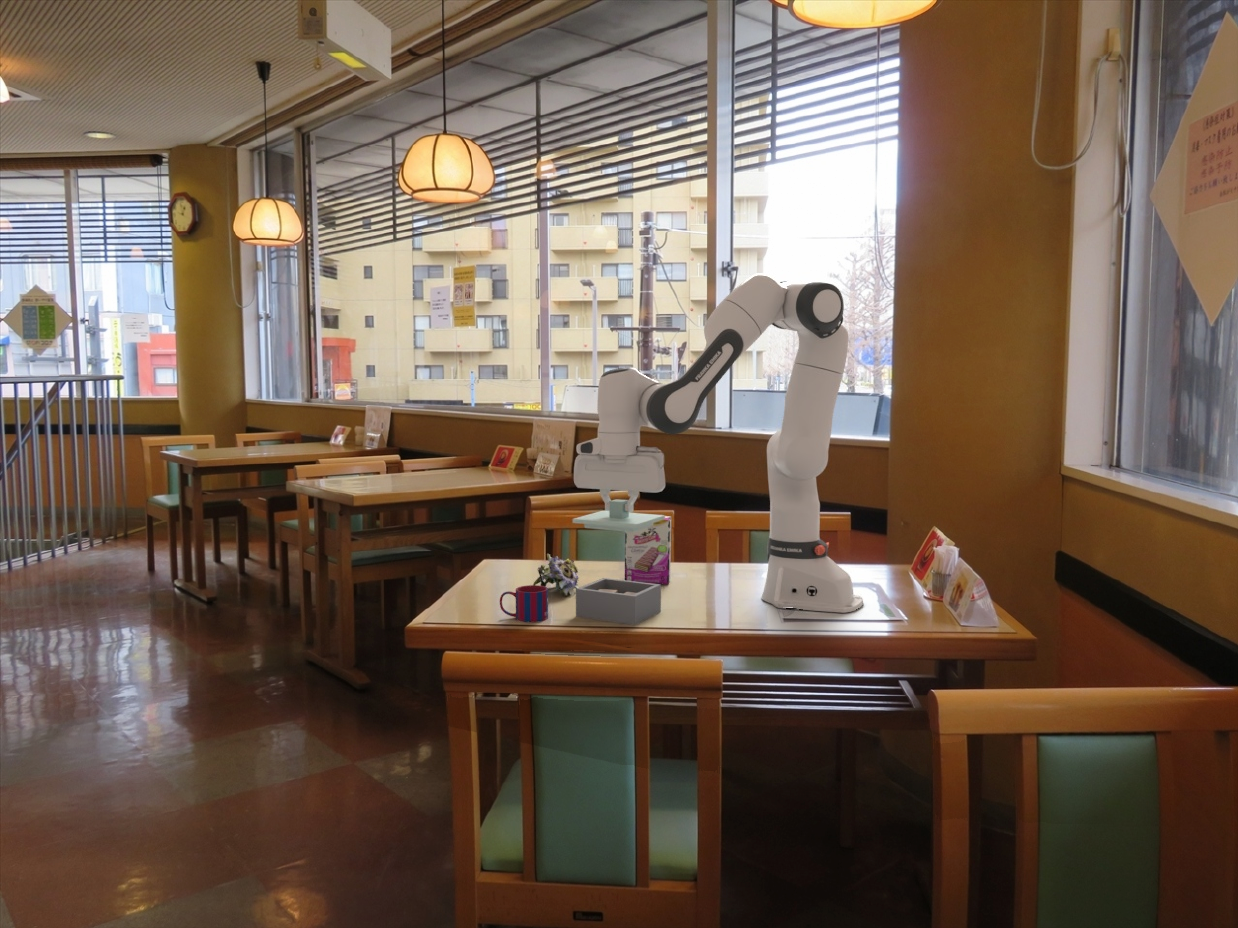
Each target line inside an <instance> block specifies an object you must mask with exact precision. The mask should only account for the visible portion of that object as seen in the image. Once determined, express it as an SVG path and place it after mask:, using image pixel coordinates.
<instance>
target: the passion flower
mask: <svg viewBox="0 0 1238 928" xmlns="http://www.w3.org/2000/svg"><path fill="white" fill-rule="evenodd" d="M546 557H547V561H548V564H547V565H548V567H546V565H544V564H541V565H540V567H539V566H538V568H537V573H538V574H539V577H537V579H535V580H534V581H533V584H532V585H538V584H540V585H539V586H545V587H547V584H548V583H550V584H552V585H553V584H555V588H556V590H558V591H560V593H561V595H563V596H565V598H566V597H567V596H574V595H575V591H574V589H575V590H576V589H577V588H579V585H578V581H579V575H577V574H578V573H579V572H578V570H579V569H578V566H577V565H576V564H575V559H573V558H572V559H571V560H570V558H567V559H565V560H564V558H563V559H560V558H559V557H558V556H554V557H551V554H549V553H547V554H546ZM545 567H546V568H545ZM544 580H545V581H544Z"/></svg>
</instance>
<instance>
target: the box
mask: <svg viewBox="0 0 1238 928" xmlns="http://www.w3.org/2000/svg"><path fill="white" fill-rule="evenodd" d="M578 587H579V586H578ZM661 587H662V584H652V583H643V582H635V581H627V580H625V579H617V578H608V577H602V578H599V579H596V580H595V581H592V582H590V583H587V584H585V585H582V586H580V587H579V588H577V589H575V617H577V618H582V619H589V620H597V621H598V620H599V621H604V622H611V623H617V624H618V623H619V624H625V625H630V626H631V625H632V626H636V625H638V624H640V623H642V622H644V621H646V620H648V619H650V618H652V617H654V616H656V615H657V614H660V613H661V612H662V607H661V606H662V588H661ZM599 589H609V590H618V593H615V592H607V591H599ZM626 592H633V593H636V594H634V595H631V594H623V593H626Z"/></svg>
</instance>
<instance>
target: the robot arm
mask: <svg viewBox="0 0 1238 928" xmlns="http://www.w3.org/2000/svg"><path fill="white" fill-rule="evenodd" d="M844 307H845V305H844V299H843V295H842V292H841V290H840V289H839V288H838V287H837V286H836V285H834V284H833V283H831V282H829V281H826V280H823V279H822V280H821V279H817V280H816V279H815V280H814V279H798V280H797V279H796V280H791V281H788V280H787V281H786V280H785V281H780V282H779V281H777V280H776V278H774V277H772V276H771V275H769V274H765V273H756V274H754V275H752V276H750V277H749V278H747V279H745V280H744V281H743V282H741V283H740V284H739V285H738V286H737V287H735V288H734V289H733V290H732V291H730V292H729V294H727V296H725V297H724V298H723V300H722V301H721V302H720V303H719V304H718V305H717V306H716V307H715V309H713V311H712V313H710V316H709V317H708V318H707V320H706V321H705V324H704V327H703V334H704V339H705V342H706V344H705V348H704V349H703V351H701V353H700V355H698V357H697V358H696V359H695V360H694V362H693V363H692V364H691V365H690V367H688V368H687V370H686V371H685V372H684V373H683V375H681V376H680V377H679V378H678V379H676V380H674V381H671V382H668V383H663V382H660V381H658V380H654V379H653V378H651V377H648V376H646V375H645V374H643V373H641V372H640V371H639V370H638V369H636V367H633V366H625V367H619V368H614V369H610V370H607V371H605V372H604V373H602V375H601V376H600V378H599V382H598V389H597V406H596V407H597V413H598V415H597V416H598V417H599V418H598V419H599V423H598V426H597V437H596V438H595V437H594V438H591V439H590V440H585V441H582V442H580V443H577V444H576V453H577V454H578V455H577V456H576V457H575V460H574V466H573V482H574V485H575V486H576V488H577V489H592V490H599V495H600V497H601V500H602V501H603V502H604V511H609V501H612V499H611V497H610V494H611V491H621V492H625V491H626V492H627V496H628V497H629V499H628V500H629V501H628V503H626V504H624V512H629V513H634V504H635V502H636V501H637V499H638V497H639V493H640V492H642V493H652V494H653V493H660V492H663V490H664V489H665V488H666V474H665V469H664V467H665V466H664V465H665V454H664V452H663V451H662V450H661V449H659V448H658V447H656V446H655V447H654V446H651V447H649V446H641V427H643V426H644V427H645V426H646V427H648V428H651V429H654V430H658V431H660V432H662V433H664V434H667V435H678V434H681V433H683V432H686V431H687V430H689V429H690V428H692V426H693V425H694V424H695V422H696V420H697V418H698V416H699V414H700V411H701V408H702V406H703V403H704V401H705V399H707V396H708V394H710V392H711V391H712V390H713V388H714V387H715V386H716V385H717V384H718V383H719V381H720V380H721V379H722V378H723V377H724V375H726V373H727V372H728V371H729V370H730V368H731V367H732V366H733V364H734V363H735V362H736V361H737V360H738V359H739V357H741V356H743V355H742V354H744V353H745V352H746V351H747V350H748V349H749V348H750V347H751V346H752V345H753V344H754V343H756V341H757V340H758V339H759V338H760V337H761V336H762V335H763V333H765V331H766V330H767V329H768V328H769V327H770V326H771V325H772V326H773V327H776V328H778V329H781V330H789V331H795V332H797V337H798V348H797V351H796V356H795V359H794V362H793V365H792V369H791V372H790V377H789V382H788V384H787V389H786V393H785V396H784V411H783V417H782V418H783V419H782V424H781V429H779V430H777V431H776V432H774V433H773V434H772V435H771V437H770V438H769V439H768V442H767V445H766V463H767V481H768V491H769V492H768V493H769V501H770V502H769V503H770V505H769V508H770V509H769V536H768V537H767V544H766V545H767V546H766V556H767V561H768V563H767V564H768V565H767V571H766V578H765V584H764V588H763V591H762V595H761V599H762V601H765V602H766V603H769V604H772V605H773V606H774V607H775V608H778V609H784V608H783V607H793V608H797V609H796V610H799V609H803V610H802V611H814V612H815V611H816V612H827V613H828V612H830V613H850V612H854V611H857V610H859V609H860V608H861V607H862V606H863V605H864V598H863V597H862V596H861V595H858V594H854V588H853V581H852V578H851V576H850V574H849V573H848V572H847V571H846V570H844V569H843V568H842V567H841V566H840V565H838V563H836V561H834V560H833V559H832V558H830V557H829V556H828V554H829V553H828V551H829V549H828V548H829V547H830V546H829V545H830V542H829V541H828V542H825V541H824V540H823V539H821V538H820V520H821V518H820V517H821V514H820V513H821V512H820V510H821V503H820V500H819V493H818V486H817V477H818V476H819V475H821V474H822V473H823V472H824V470H826V467H827V466H828V462H829V449H830V442H831V435H832V428H833V418H834V410H835V407H836V406H835V405H836V403H837V398H838V394H839V392H840V387H841V383H842V380H843V376H844V371H845V367H846V363H847V356H848V349H849V332H848V330H847V328H846V327H845V326H844V325H842V324H843V321H844V317H843V315H844V311H845V309H844ZM858 608H859V609H858ZM856 609H857V610H856Z"/></svg>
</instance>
